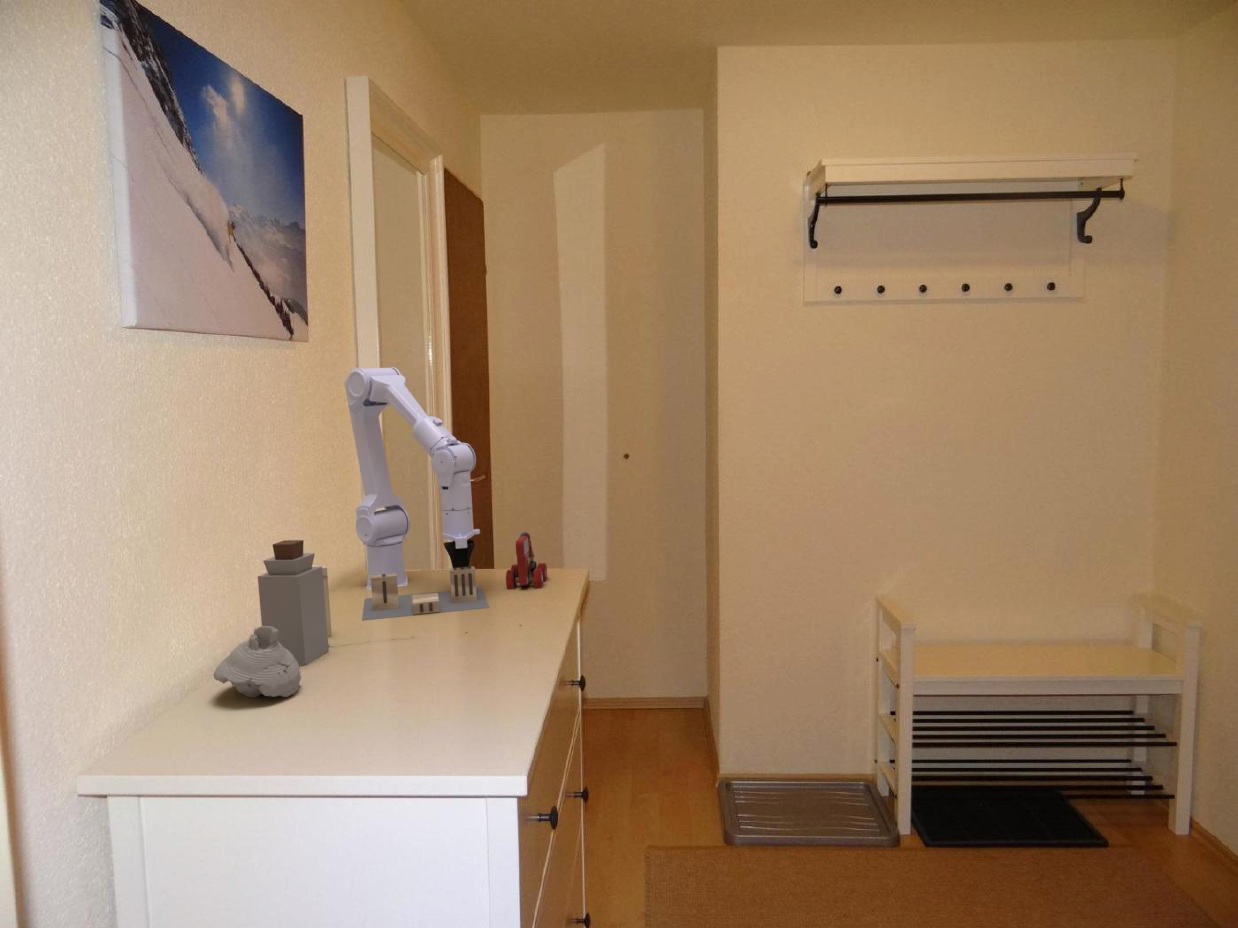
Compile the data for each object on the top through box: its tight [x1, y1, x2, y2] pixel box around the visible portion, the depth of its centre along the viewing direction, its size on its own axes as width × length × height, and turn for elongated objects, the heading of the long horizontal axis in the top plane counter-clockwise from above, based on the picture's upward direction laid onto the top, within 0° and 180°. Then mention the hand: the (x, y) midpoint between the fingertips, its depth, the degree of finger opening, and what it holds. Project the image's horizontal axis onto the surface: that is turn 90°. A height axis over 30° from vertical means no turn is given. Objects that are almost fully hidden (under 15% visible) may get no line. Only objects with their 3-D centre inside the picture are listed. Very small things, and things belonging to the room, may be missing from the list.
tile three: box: [449, 565, 477, 603], centre depth 169 cm, size 2×4×6 cm, turn 103°
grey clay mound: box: [213, 625, 302, 698], centre depth 125 cm, size 12×12×11 cm
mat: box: [361, 586, 490, 621], centre depth 169 cm, size 16×22×1 cm
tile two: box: [412, 593, 440, 614], centre depth 164 cm, size 2×4×6 cm
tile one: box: [370, 573, 399, 611], centre depth 166 cm, size 2×4×6 cm, turn 103°
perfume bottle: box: [257, 539, 330, 666], centre depth 140 cm, size 7×7×18 cm
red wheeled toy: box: [505, 531, 548, 590], centre depth 181 cm, size 7×12×10 cm, turn 177°
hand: (461, 579), depth 174 cm, fingers closed
